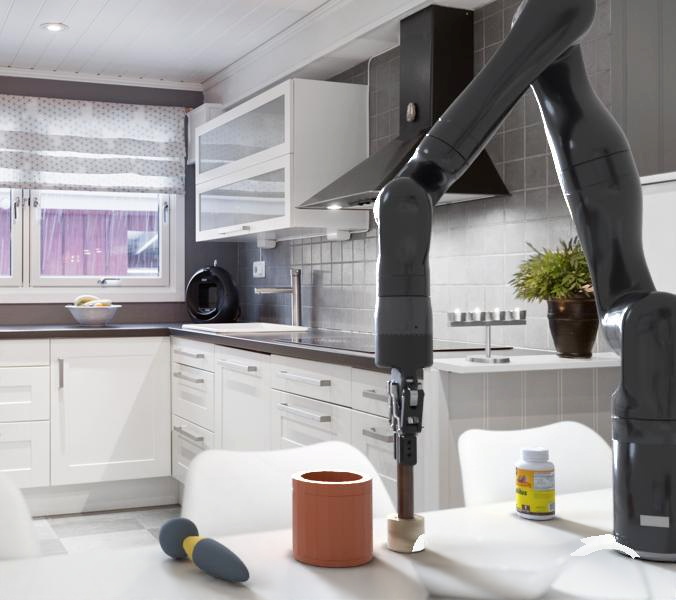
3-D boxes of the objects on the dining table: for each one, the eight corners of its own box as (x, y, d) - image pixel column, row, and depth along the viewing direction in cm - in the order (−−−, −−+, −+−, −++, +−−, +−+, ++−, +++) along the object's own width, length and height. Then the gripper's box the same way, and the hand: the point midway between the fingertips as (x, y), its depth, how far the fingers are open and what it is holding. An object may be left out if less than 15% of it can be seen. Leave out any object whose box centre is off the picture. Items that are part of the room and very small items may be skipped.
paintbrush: (273, 582, 94) (272, 537, 94) (238, 591, 91) (238, 545, 91) (174, 546, 109) (174, 508, 109) (142, 553, 106) (142, 514, 106)
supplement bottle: (511, 512, 128) (510, 446, 129) (548, 512, 128) (546, 446, 129) (522, 520, 123) (521, 451, 123) (560, 521, 123) (559, 451, 123)
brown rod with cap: (420, 543, 111) (419, 422, 111) (428, 552, 106) (426, 427, 106) (384, 543, 111) (383, 422, 111) (390, 552, 106) (389, 427, 106)
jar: (366, 545, 109) (365, 469, 110) (378, 567, 99) (377, 483, 100) (290, 545, 110) (290, 469, 110) (295, 567, 100) (294, 483, 100)
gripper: (444, 331, 102) (446, 472, 101) (421, 331, 116) (422, 454, 115) (383, 331, 102) (385, 472, 102) (367, 331, 116) (368, 454, 116)
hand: (405, 462), depth 109 cm, fingers open, 3 cm apart
